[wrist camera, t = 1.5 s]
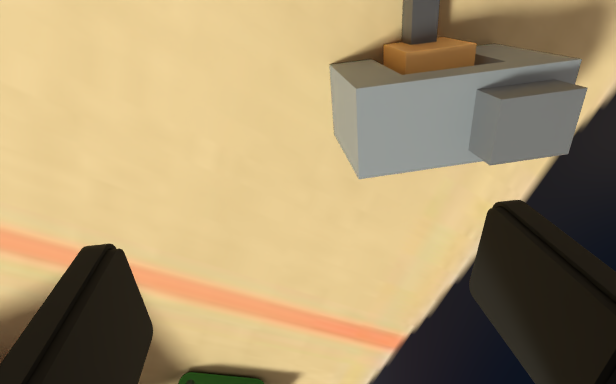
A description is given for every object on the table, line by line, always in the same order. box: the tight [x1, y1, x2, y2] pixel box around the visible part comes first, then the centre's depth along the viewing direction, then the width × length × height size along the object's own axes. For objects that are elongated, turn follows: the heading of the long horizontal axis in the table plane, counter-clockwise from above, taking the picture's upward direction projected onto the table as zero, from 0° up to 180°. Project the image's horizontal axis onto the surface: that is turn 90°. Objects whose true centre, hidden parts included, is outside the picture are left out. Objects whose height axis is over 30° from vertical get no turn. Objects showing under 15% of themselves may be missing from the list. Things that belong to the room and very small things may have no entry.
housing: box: [330, 44, 587, 179], centre depth 25 cm, size 6×14×12 cm, turn 96°
